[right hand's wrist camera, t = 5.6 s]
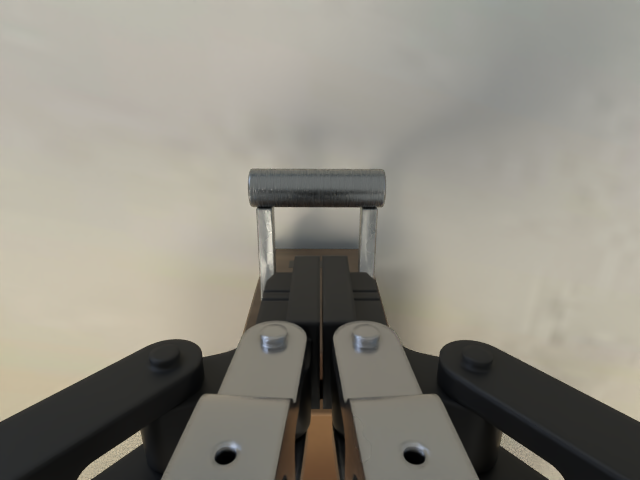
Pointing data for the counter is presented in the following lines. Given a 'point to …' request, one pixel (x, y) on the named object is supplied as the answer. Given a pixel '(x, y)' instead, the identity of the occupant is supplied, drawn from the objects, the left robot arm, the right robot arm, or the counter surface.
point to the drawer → (313, 192)
